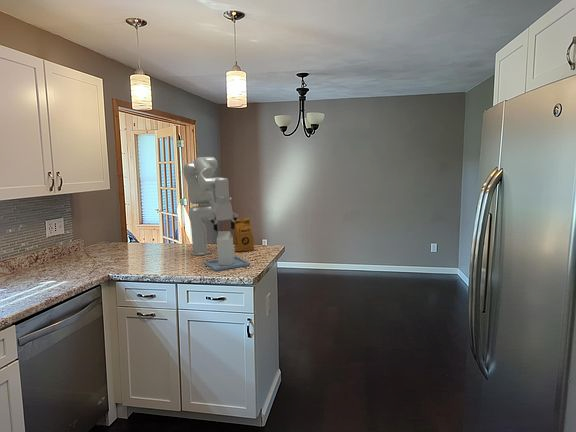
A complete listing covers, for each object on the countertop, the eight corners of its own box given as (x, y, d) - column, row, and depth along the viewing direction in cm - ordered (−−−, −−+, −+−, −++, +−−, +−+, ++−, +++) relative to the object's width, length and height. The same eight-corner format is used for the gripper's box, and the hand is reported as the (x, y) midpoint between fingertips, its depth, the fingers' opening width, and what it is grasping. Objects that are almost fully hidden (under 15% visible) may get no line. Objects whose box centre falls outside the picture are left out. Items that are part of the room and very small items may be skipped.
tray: (205, 264, 228) (204, 261, 228) (237, 259, 237) (237, 256, 237) (215, 271, 210) (215, 268, 210) (249, 265, 219) (249, 262, 219)
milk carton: (230, 265, 220) (227, 232, 217) (218, 265, 221) (216, 232, 219) (234, 262, 226) (232, 230, 224) (223, 262, 228) (220, 230, 226)
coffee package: (255, 251, 259) (253, 218, 257) (236, 253, 256) (234, 219, 253) (252, 248, 269) (250, 216, 266) (234, 250, 265) (232, 218, 263)
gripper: (234, 198, 226) (236, 227, 229) (205, 200, 219) (207, 230, 221) (239, 199, 220) (241, 229, 222) (209, 201, 212) (211, 232, 214)
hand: (224, 230), depth 222 cm, fingers open, 9 cm apart
